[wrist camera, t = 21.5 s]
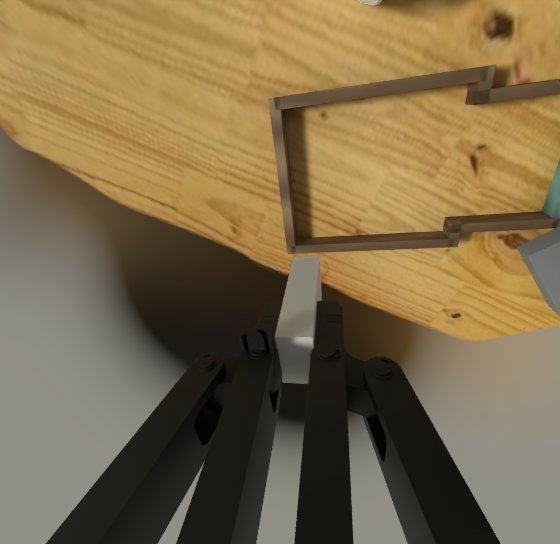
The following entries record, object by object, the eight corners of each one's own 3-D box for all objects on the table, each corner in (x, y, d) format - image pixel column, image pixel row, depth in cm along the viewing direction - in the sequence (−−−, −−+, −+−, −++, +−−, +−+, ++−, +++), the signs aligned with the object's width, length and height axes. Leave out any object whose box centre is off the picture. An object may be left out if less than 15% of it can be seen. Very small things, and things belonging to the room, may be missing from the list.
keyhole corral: (272, 98, 34) (268, 98, 32) (613, 47, 27) (637, 43, 25) (289, 246, 44) (287, 253, 41) (543, 234, 37) (556, 242, 35)
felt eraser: (588, 288, 40) (605, 301, 38) (546, 304, 42) (560, 317, 40) (558, 224, 37) (575, 234, 34) (515, 245, 39) (527, 256, 36)
